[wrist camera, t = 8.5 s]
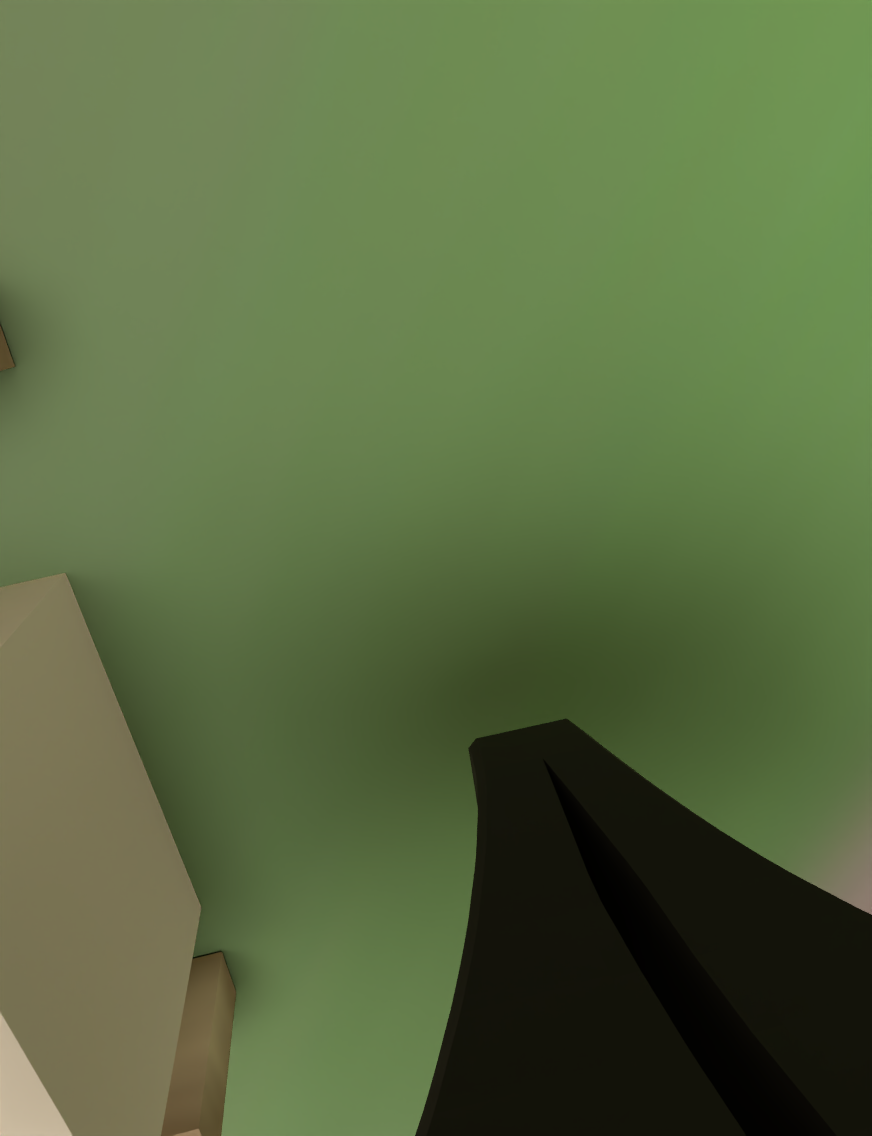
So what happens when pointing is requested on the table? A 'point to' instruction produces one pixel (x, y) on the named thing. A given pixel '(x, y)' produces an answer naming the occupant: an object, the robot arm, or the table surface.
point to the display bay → (195, 1027)
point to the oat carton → (81, 890)
